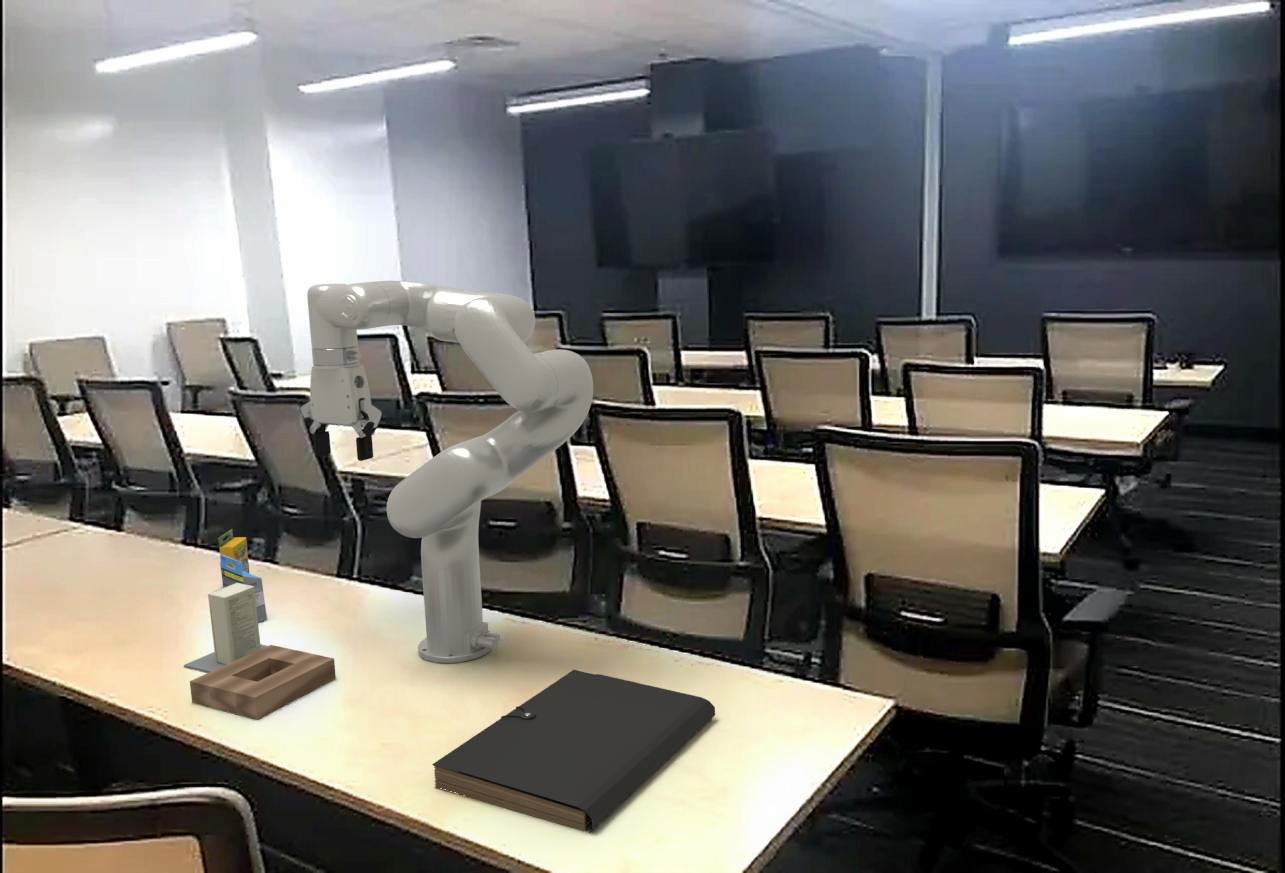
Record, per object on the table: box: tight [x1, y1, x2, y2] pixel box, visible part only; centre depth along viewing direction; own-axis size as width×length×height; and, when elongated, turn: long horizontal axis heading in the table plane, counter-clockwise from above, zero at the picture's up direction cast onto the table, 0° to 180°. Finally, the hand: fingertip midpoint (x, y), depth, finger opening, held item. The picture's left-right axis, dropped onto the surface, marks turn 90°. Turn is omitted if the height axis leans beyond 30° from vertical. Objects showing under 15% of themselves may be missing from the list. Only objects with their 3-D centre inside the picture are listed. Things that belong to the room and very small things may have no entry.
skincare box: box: [207, 583, 261, 665], centre depth 177 cm, size 6×4×12 cm
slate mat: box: [183, 643, 268, 674], centre depth 179 cm, size 12×12×1 cm
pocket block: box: [189, 644, 337, 721], centre depth 166 cm, size 14×16×4 cm
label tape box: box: [219, 554, 268, 624], centre depth 198 cm, size 9×4×12 cm, turn 48°
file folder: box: [431, 669, 716, 834], centre depth 143 cm, size 33×4×24 cm
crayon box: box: [217, 528, 250, 574], centre depth 216 cm, size 7×3×12 cm, turn 179°
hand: (344, 457), depth 182 cm, fingers open, 9 cm apart
